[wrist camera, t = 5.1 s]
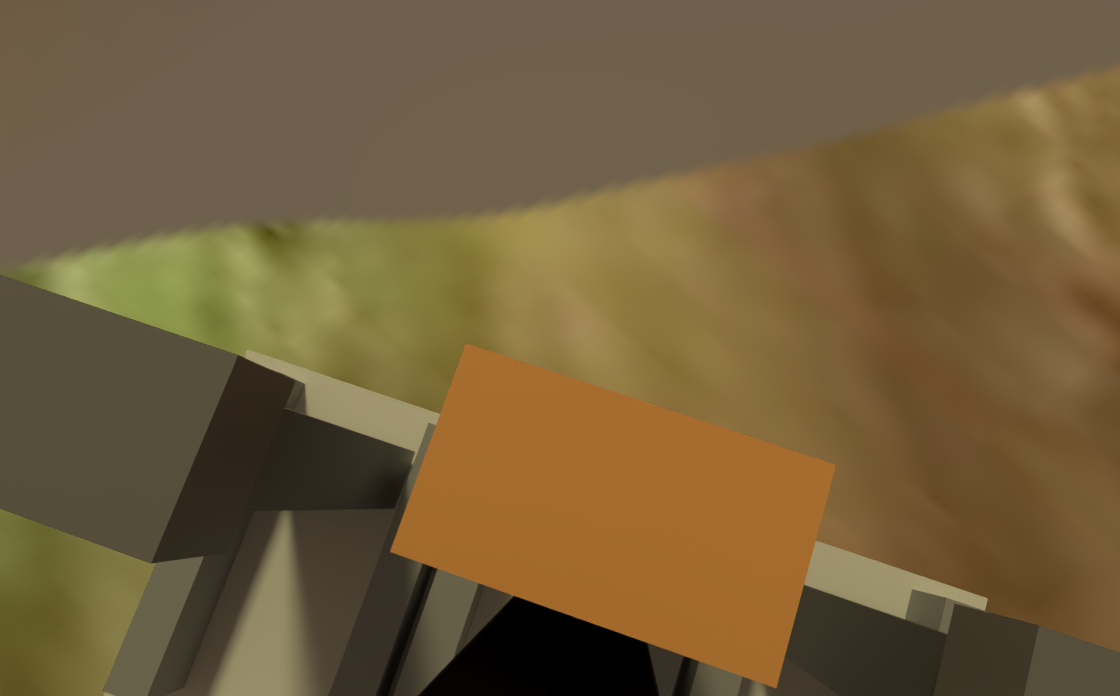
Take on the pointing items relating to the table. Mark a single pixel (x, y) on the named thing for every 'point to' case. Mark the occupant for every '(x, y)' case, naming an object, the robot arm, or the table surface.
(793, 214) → the table surface
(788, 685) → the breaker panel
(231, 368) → the handle
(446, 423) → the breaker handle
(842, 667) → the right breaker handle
